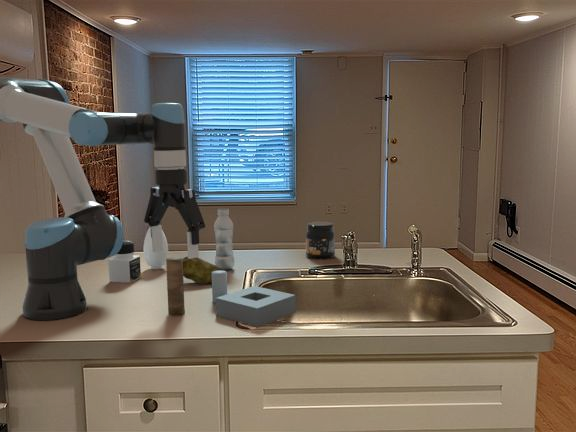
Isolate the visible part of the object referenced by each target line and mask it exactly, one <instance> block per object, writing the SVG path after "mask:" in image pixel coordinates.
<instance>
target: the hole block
mask: <svg viewBox="0 0 576 432" xmlns="http://www.w3.org/2000/svg"><path fill="white" fill-rule="evenodd" d="M215 299H216V303H215V316H216V317H220V318H223V319H228V320H230V321H235V322H237V323H242V324H246V325H250V326H252V327H255V328H259V327H261V326H264V325H266V324H270V323H271V322H274V321H277V320H279V319H280V320H281V319H282V318H284V317H287V316H290V315H292V314H295V313H296V311H297V310H296V308H297V307H296V303H297V302H296V294H292V293H288V292H284V291H279V290H274V289H270V288H266V287H261V286H256V285H253V286H249V287H246V288H243V289H240V290H236V291H233V292H230V293H227V294H226V295H223V296H220V297H217V298H215Z"/></svg>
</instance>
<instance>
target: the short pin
mask: <svg viewBox="0 0 576 432" xmlns="http://www.w3.org/2000/svg"><path fill="white" fill-rule="evenodd" d="M211 288H212V289H211V295H212V303H213V304H216V299H215V298H217V297H220V296H223V295H226V294H228V273H227V270H222V271H213V272H212V283H211Z"/></svg>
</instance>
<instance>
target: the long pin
mask: <svg viewBox="0 0 576 432" xmlns="http://www.w3.org/2000/svg"><path fill="white" fill-rule="evenodd" d="M183 258H184V257H179V256H173V257H167V259H166V263H165V265H166V267H165V268H166V285H167V287H166V289H167V290H166V291H167V308H168V310H167V311H168V316H170V317H179V316H182V315H184V314H185V288H184V286H185V284H184V282H185V281H184V276H183Z"/></svg>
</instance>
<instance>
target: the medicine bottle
mask: <svg viewBox="0 0 576 432" xmlns="http://www.w3.org/2000/svg"><path fill="white" fill-rule="evenodd" d="M107 263H108V279H109V283H120V284H121V283H122V284H123V283H124V284H131V283H133V282H135V281H137V280H139V279H140V278H141V277H142V276H141V275H142V274H141V273H142V272H141V270H142V269H141V256H140V255H138V254H137V255H135V243H134V242H133V241H130V240H123V242H122V247H121V249H120V250H119V252H118V253H117V254H115V255H114V256H112V257H110V258H109V259H108V260H107Z"/></svg>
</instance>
